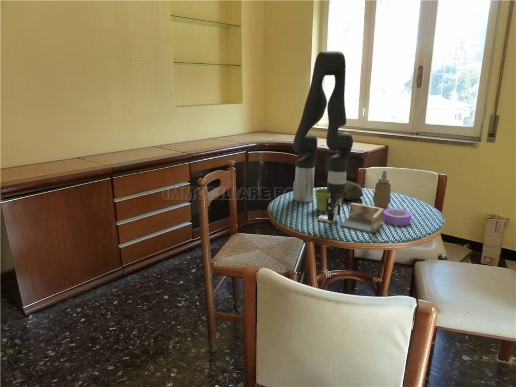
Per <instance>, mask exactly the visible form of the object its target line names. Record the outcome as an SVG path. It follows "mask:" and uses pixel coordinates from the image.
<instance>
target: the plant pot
mask: <svg viewBox="0 0 516 387" xmlns="http://www.w3.org/2000/svg"><path fill="white" fill-rule="evenodd" d="M313 193H315V198H316V210H319V211H321V212H326V203H327V198H329V197H330V195H331V194H330V193H329V192H327V188H317V189H315V190H313ZM330 209H331V207H330Z"/></svg>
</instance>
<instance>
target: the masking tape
mask: <svg viewBox="0 0 516 387" xmlns="http://www.w3.org/2000/svg"><path fill="white" fill-rule="evenodd" d="M411 218H412V213H411V212H410V211H408V210H406V209H402V208H396V207H391V208H389V207H387V208H386V209H384V214H383V222H385V223H387V224H390V225H394V226H407V224H408V225H410V224H411V220H412V219H411Z"/></svg>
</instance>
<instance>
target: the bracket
mask: <svg viewBox="0 0 516 387" xmlns="http://www.w3.org/2000/svg"><path fill="white" fill-rule="evenodd" d="M337 212H338V205H337V207H336V208H335V209H334V215H333V221H328V214H327V215H326V214H321V215H319V216H318V217H317V221H318V220H319V222H323V221H324V223H327V224H332V223H333V224H335V223H336V222H337V221H338V215H337Z"/></svg>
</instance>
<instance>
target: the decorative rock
mask: <svg viewBox="0 0 516 387" xmlns="http://www.w3.org/2000/svg"><path fill="white" fill-rule="evenodd" d="M362 197H364V192H363V189H362V186H361V185H359V184H358V183H356V182H353V181H351V180H346V187H345V193H344V196H343V200H348V201H353V200H357V199H358V198H362Z"/></svg>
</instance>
